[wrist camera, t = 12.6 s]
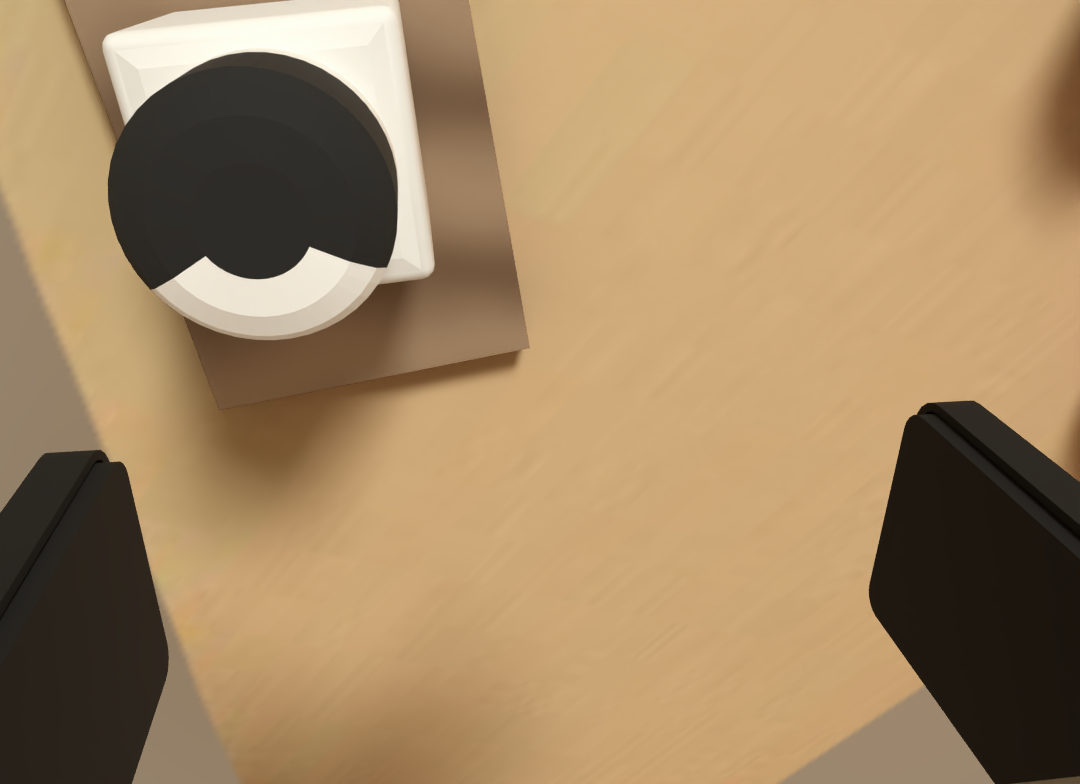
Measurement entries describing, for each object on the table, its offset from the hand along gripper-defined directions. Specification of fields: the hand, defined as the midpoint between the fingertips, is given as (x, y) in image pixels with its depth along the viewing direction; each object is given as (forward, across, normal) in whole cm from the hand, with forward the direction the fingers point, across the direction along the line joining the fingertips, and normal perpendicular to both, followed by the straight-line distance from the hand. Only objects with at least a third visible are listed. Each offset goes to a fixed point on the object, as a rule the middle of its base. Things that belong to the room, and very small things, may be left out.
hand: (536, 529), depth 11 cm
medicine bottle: (+22, +5, -1) cm, 23 cm away
